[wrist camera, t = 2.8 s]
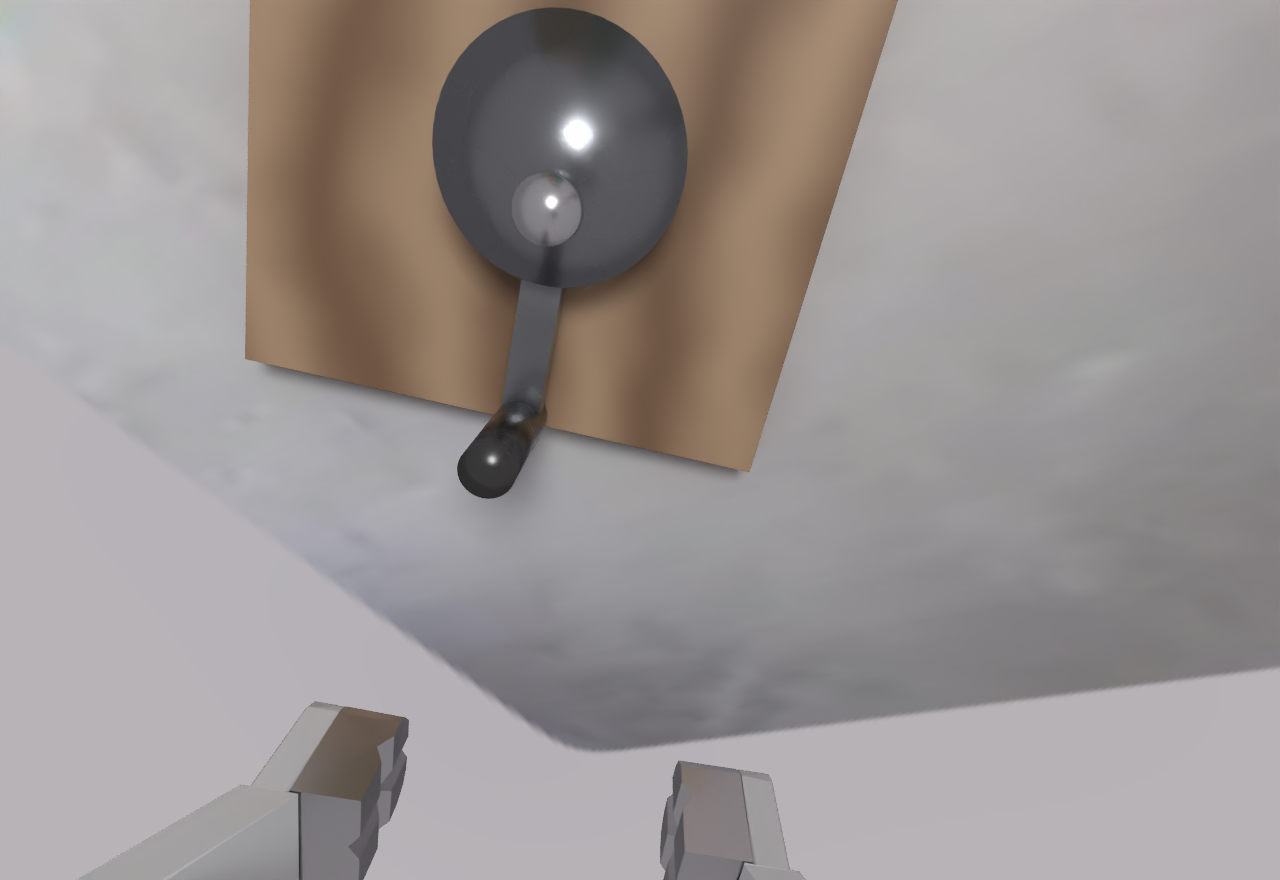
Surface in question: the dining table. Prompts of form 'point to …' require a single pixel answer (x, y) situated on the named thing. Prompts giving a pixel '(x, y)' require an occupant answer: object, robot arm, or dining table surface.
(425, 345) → the brown flat piece
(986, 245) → the dining table surface
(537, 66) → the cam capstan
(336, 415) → the dining table surface
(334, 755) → the robot arm
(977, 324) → the dining table surface
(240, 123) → the dining table surface
